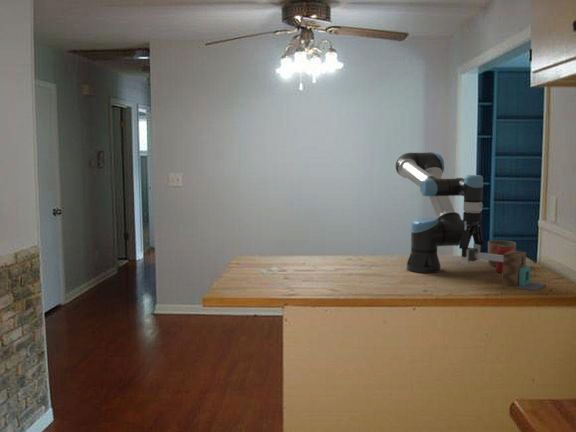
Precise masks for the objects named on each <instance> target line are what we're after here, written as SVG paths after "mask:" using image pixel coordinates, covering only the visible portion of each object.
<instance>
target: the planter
mask: <svg viewBox="0 0 576 432" xmlns="http://www.w3.org/2000/svg"><path fill="white" fill-rule="evenodd" d="M501 244H504V245H511V248H512V250H513V251H516V250H517V249H516V247H517V243H516V242H515V241H512V240H502V239H500V240H498V239H494V240H488V241H487V253H490V254H497V248H498V245H501ZM487 261H488V263H489V264H490V265H491V266H493V267H496V261H491V260H487Z"/></svg>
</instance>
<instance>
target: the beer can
mask: <svg viewBox="0 0 576 432" xmlns="http://www.w3.org/2000/svg"><path fill="white" fill-rule="evenodd" d="M511 250H512V248H511V245H504V244H501V245H498V248H497V254H498V255H504V253H506V252H509V251H511ZM495 271H496V272H497V273H498V274H499V273H500V274H503V262H499V261H496V266H495Z"/></svg>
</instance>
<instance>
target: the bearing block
mask: <svg viewBox="0 0 576 432" xmlns="http://www.w3.org/2000/svg"><path fill="white" fill-rule="evenodd" d="M521 257H522V263H521ZM526 261H527V252H526V251H521V250H515V251H513V250H511V251H509V252H506V253H504V256H503V273H502V280H501V281H502V283H501V285H502V286H506V287H513V288H517V286H519V271H520V268H522V267H524V266H527V265H526V263H527V262H526Z"/></svg>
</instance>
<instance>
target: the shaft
mask: <svg viewBox="0 0 576 432" xmlns="http://www.w3.org/2000/svg"><path fill="white" fill-rule="evenodd" d="M468 249H469V254H468V262H475V261H478V260H477V259H480V260H484V261H488V260H491V261H499V262H503V256H504V255H498V254H490V253H488V252H481V251H480V252H478V249H477V248H474V247H468ZM521 263H522V257H521Z"/></svg>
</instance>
